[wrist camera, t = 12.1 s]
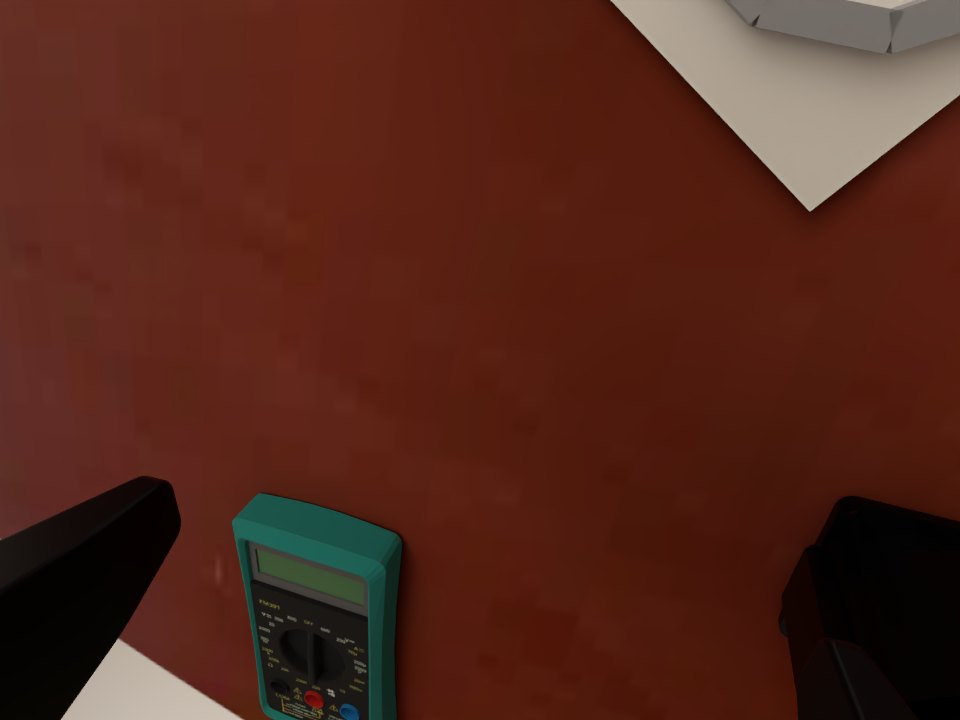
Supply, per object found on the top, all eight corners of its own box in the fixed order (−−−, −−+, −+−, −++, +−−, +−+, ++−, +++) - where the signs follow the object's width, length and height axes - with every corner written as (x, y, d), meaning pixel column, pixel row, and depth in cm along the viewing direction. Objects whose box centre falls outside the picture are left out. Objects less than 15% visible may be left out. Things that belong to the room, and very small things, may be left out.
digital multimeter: (283, 676, 36) (253, 725, 34) (260, 479, 29) (219, 523, 26) (401, 718, 35) (378, 772, 32) (408, 522, 27) (380, 572, 25)
